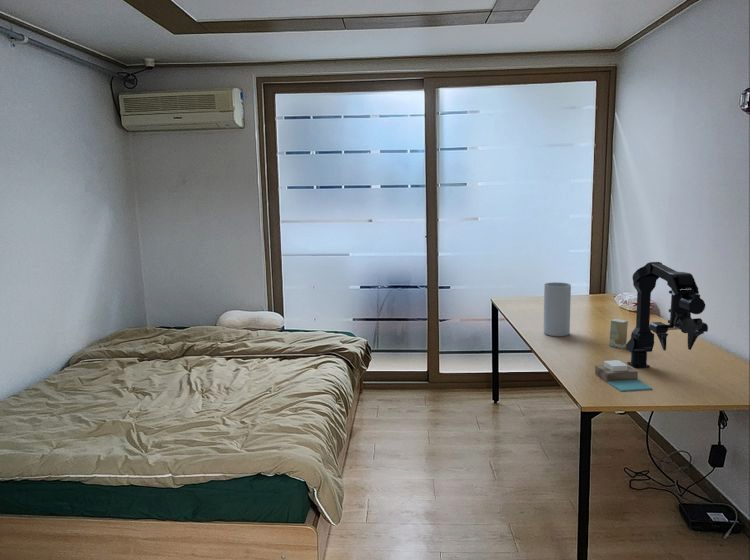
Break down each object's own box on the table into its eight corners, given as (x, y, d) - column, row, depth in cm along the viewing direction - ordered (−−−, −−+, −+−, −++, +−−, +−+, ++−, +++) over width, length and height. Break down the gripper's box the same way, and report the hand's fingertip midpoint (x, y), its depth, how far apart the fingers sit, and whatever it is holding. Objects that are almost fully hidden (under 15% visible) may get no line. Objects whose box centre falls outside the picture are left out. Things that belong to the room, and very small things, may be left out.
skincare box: (608, 345, 271) (609, 320, 269) (613, 344, 274) (614, 318, 272) (622, 348, 266) (623, 322, 264) (627, 346, 269) (628, 320, 267)
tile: (603, 365, 232) (603, 360, 231) (618, 364, 232) (618, 360, 232) (612, 371, 225) (612, 366, 224) (627, 370, 225) (627, 365, 225)
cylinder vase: (572, 336, 288) (574, 286, 284) (547, 337, 289) (548, 287, 285) (565, 330, 301) (566, 282, 297) (540, 330, 301) (541, 282, 297)
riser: (594, 374, 233) (595, 365, 232) (623, 372, 234) (624, 363, 233) (607, 382, 223) (607, 373, 223) (637, 380, 224) (637, 371, 224)
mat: (607, 382, 223) (607, 381, 223) (637, 380, 224) (638, 379, 224) (620, 391, 213) (620, 390, 213) (652, 389, 214) (652, 388, 214)
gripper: (665, 314, 202) (662, 357, 205) (718, 312, 203) (715, 355, 206) (649, 306, 213) (647, 348, 216) (700, 305, 214) (697, 346, 217)
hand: (676, 349), depth 213 cm, fingers open, 9 cm apart
